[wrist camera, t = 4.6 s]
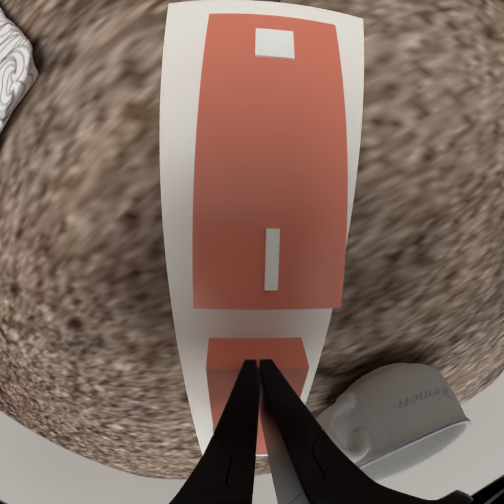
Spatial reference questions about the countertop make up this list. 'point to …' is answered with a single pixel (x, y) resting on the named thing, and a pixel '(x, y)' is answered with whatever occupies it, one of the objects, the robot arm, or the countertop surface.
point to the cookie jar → (14, 67)
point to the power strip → (182, 181)
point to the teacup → (395, 419)
